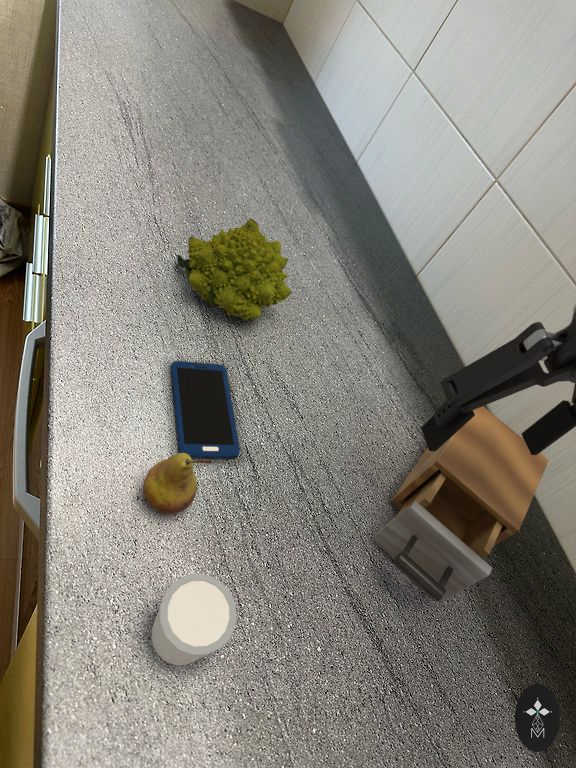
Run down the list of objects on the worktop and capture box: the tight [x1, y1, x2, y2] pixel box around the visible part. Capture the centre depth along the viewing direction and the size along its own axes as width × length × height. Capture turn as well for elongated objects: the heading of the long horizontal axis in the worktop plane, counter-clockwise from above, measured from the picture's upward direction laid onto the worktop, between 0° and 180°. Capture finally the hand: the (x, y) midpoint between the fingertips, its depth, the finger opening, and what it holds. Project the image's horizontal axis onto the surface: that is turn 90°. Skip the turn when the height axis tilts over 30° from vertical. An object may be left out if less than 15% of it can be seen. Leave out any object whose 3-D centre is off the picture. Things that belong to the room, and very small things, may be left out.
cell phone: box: [170, 360, 241, 459], centre depth 71 cm, size 7×14×1 cm, turn 11°
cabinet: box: [390, 405, 550, 547], centre depth 74 cm, size 14×12×11 cm
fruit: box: [142, 452, 213, 515], centre depth 58 cm, size 6×6×12 cm
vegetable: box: [176, 217, 293, 322], centre depth 82 cm, size 15×16×15 cm
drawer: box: [372, 470, 503, 602], centre depth 67 cm, size 17×11×9 cm, turn 143°
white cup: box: [151, 573, 237, 666], centre depth 52 cm, size 7×7×7 cm
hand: (480, 442), depth 60 cm, fingers open, 13 cm apart
